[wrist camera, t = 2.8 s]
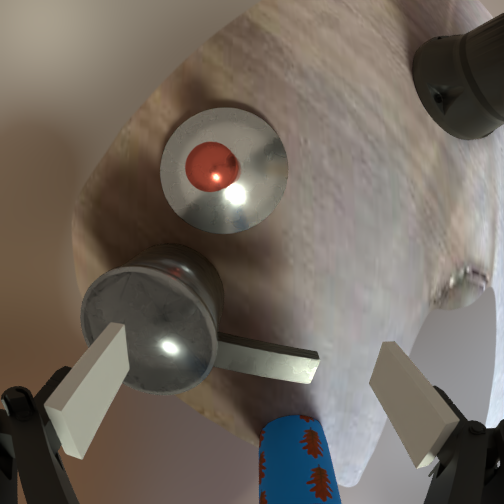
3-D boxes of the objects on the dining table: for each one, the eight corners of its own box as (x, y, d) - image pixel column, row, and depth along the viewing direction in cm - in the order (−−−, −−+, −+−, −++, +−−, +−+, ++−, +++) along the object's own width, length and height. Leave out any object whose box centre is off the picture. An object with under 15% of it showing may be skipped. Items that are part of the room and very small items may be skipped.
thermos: (335, 420, 41) (371, 550, 17) (305, 456, 44) (321, 572, 19) (274, 408, 40) (284, 557, 16) (249, 446, 43) (245, 573, 19)
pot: (128, 228, 34) (82, 250, 23) (317, 274, 35) (342, 314, 24) (119, 326, 37) (83, 370, 27) (285, 367, 38) (293, 423, 28)
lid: (180, 101, 31) (151, 73, 20) (299, 126, 31) (318, 105, 21) (153, 216, 34) (115, 232, 24) (269, 244, 35) (275, 272, 24)
